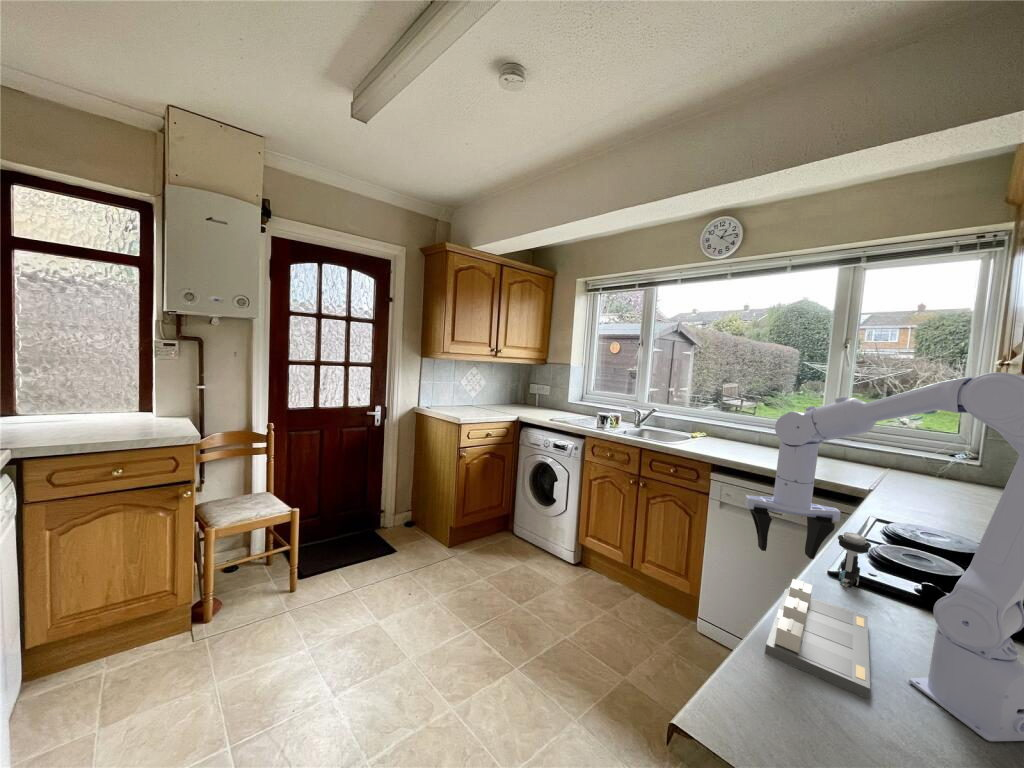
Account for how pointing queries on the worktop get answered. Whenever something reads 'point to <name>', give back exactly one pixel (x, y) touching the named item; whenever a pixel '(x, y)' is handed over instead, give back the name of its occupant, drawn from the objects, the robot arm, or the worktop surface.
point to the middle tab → (795, 610)
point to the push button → (852, 557)
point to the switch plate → (829, 646)
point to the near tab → (789, 634)
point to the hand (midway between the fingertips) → (785, 552)
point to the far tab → (801, 591)
